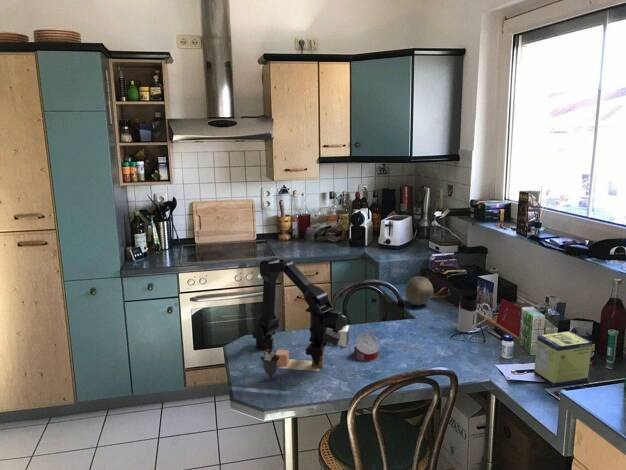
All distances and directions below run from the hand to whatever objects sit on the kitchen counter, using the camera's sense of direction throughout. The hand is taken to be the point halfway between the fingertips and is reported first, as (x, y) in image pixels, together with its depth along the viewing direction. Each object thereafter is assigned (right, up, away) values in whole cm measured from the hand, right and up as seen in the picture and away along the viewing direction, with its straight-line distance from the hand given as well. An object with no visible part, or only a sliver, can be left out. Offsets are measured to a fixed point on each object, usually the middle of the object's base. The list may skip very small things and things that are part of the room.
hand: (317, 362), depth 196 cm
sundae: (-17, -5, -11) cm, 21 cm away
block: (-14, -1, +2) cm, 14 cm away
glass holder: (+71, +5, +38) cm, 80 cm away
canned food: (+20, 0, +12) cm, 23 cm away
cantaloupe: (+53, +12, +71) cm, 89 cm away
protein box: (+90, -4, -6) cm, 90 cm away
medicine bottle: (+10, +2, +24) cm, 26 cm away
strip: (-9, -2, +2) cm, 9 cm away
